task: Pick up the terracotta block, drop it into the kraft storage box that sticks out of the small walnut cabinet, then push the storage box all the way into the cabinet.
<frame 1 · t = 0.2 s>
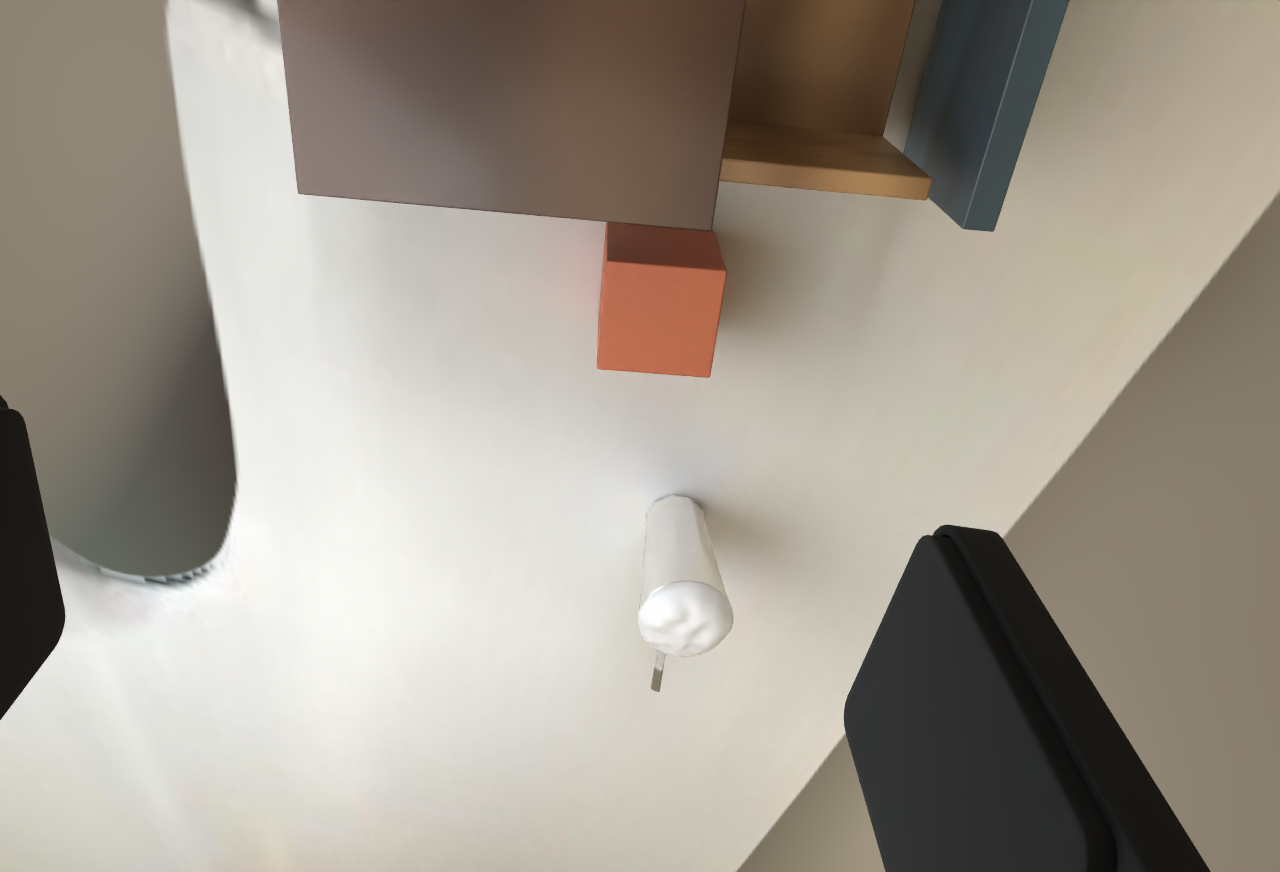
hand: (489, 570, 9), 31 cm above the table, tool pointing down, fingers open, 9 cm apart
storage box: (852, 7, 30), point 5 cm above the table, slide at 9.0 cm
block: (654, 278, 40), on the table
milkshake: (670, 520, 48), on the table
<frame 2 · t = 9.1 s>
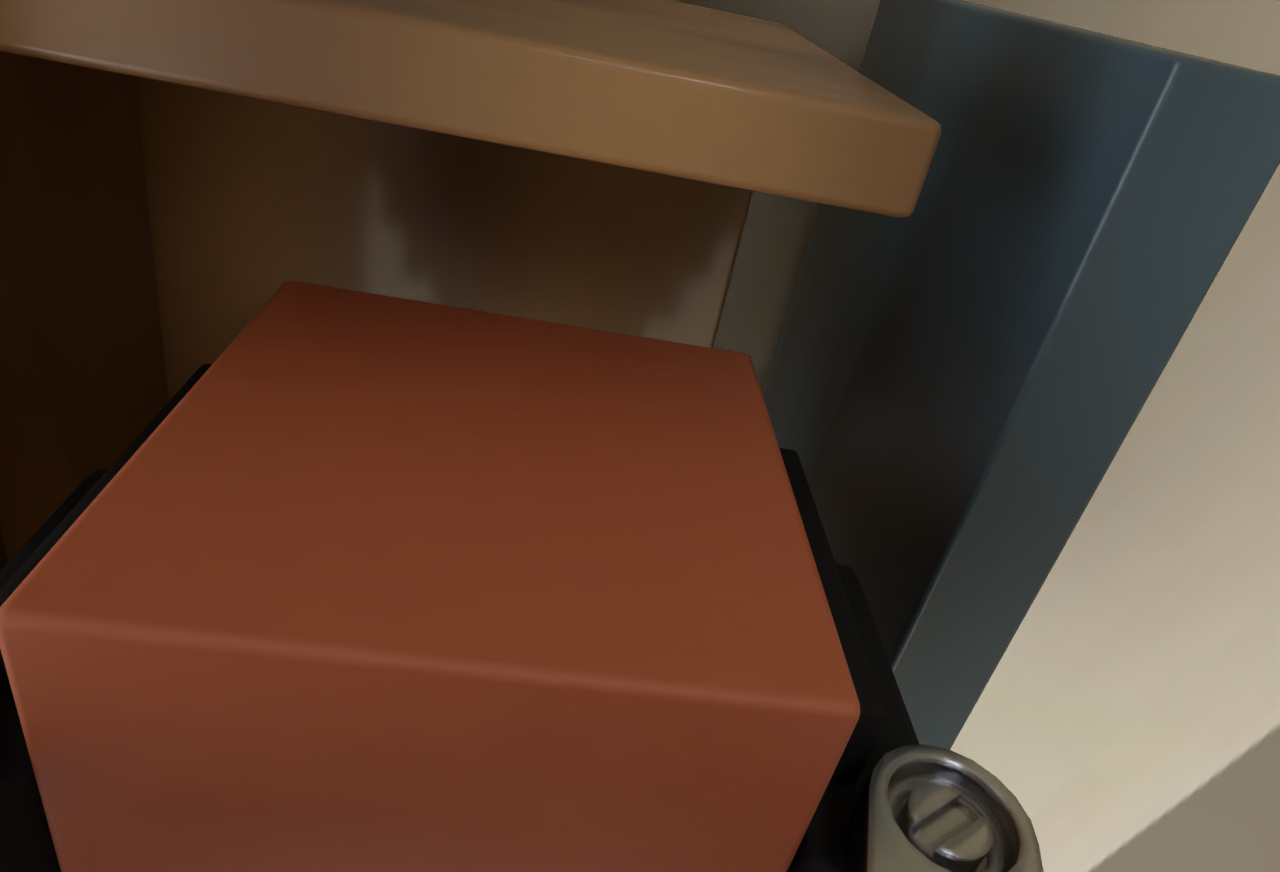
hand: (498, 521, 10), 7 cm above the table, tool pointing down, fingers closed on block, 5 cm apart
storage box: (516, 424, 12), point 5 cm above the table, slide at 9.0 cm
block: (501, 502, 10), point 7 cm above the table, touching gripper
when the fingers open (10 cm above the table, at t = 26.2 s): block drops 8 cm, resting on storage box.
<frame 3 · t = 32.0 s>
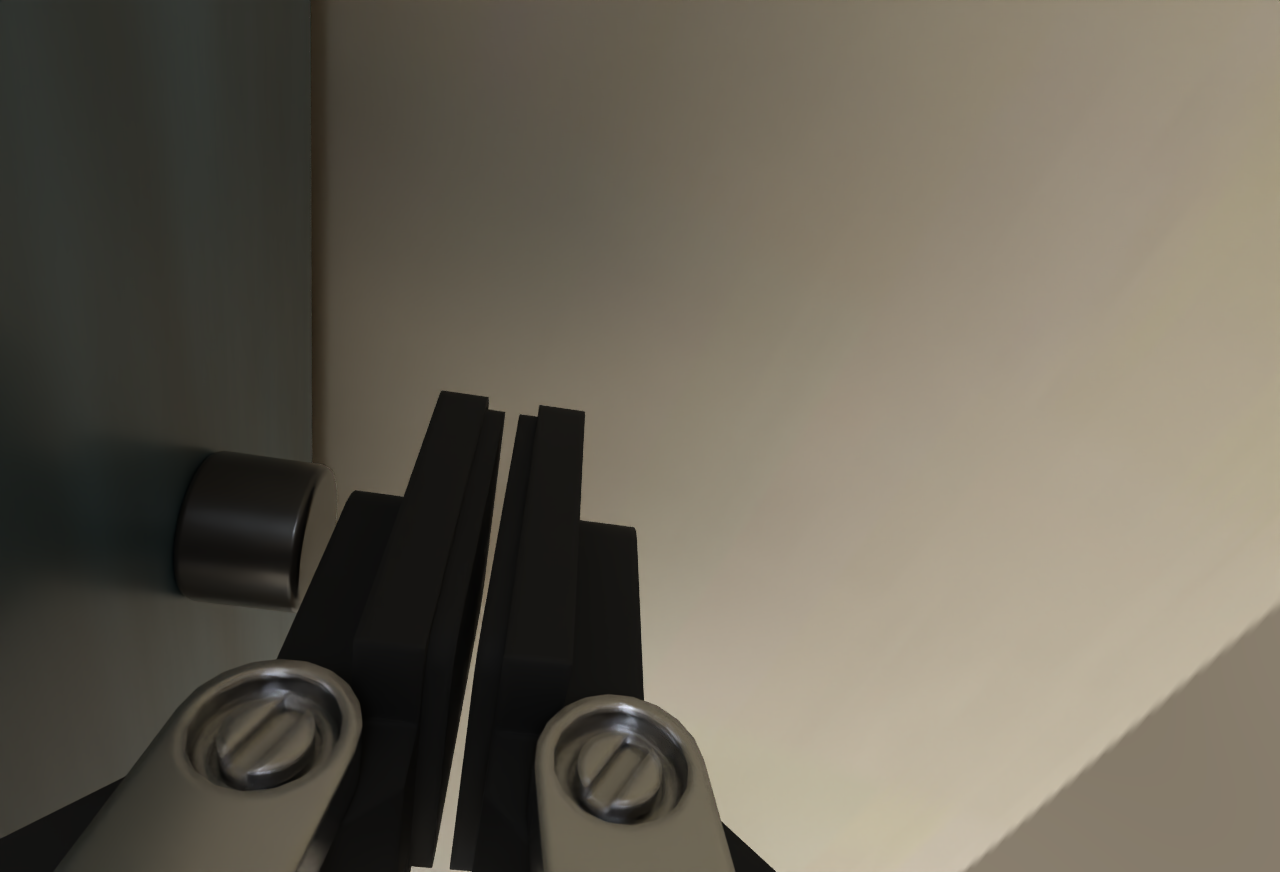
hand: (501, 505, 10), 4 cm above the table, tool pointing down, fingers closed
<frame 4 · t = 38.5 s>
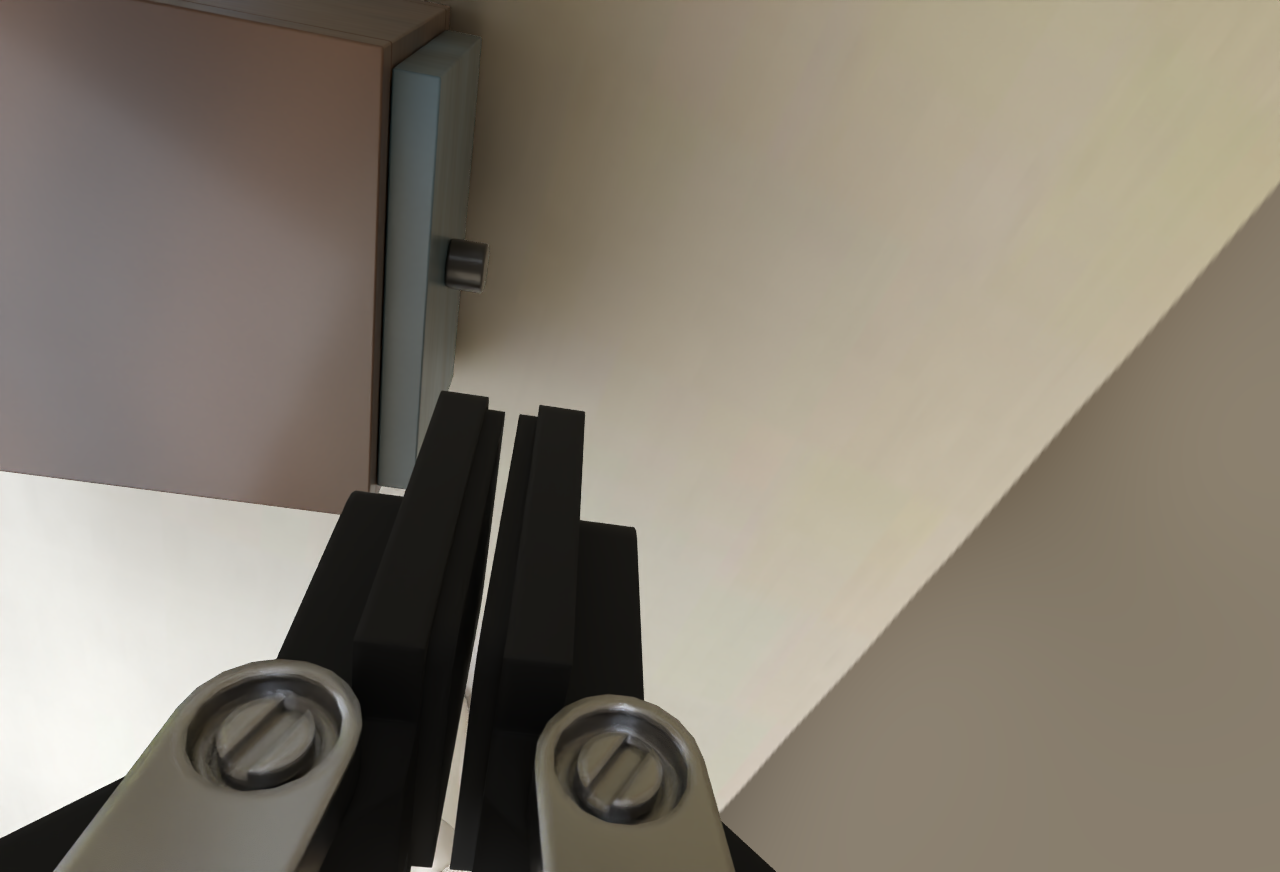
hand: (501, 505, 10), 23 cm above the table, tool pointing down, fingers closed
cabinet: (243, 177, 31), on the table
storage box: (265, 232, 27), point 5 cm above the table, slide at 0.0 cm, touching block, cabinet
milkshake: (434, 705, 46), on the table
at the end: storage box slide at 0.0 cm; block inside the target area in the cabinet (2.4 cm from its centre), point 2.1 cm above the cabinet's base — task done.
